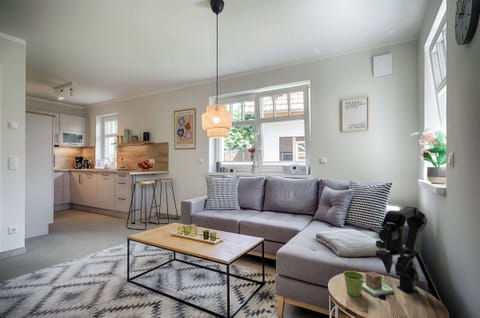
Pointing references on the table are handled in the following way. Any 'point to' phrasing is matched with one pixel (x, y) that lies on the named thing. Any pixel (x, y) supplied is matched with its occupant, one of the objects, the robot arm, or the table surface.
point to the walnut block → (374, 280)
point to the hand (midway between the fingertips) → (395, 271)
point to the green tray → (376, 292)
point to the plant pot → (353, 282)
